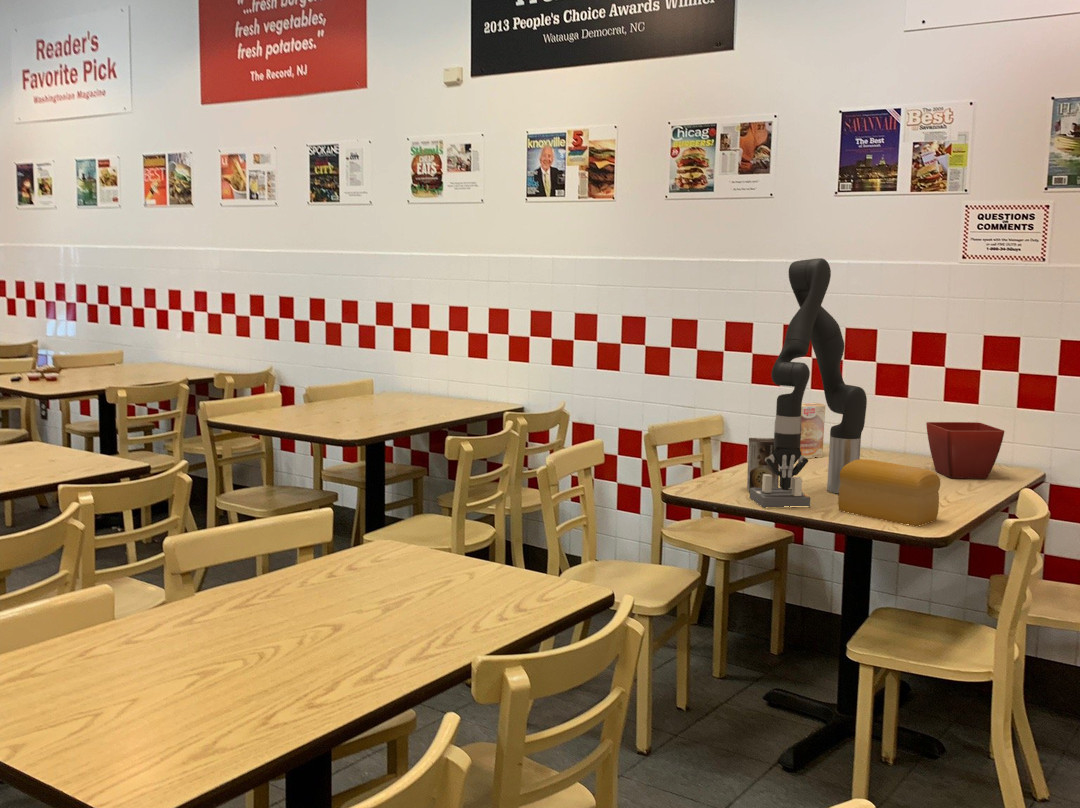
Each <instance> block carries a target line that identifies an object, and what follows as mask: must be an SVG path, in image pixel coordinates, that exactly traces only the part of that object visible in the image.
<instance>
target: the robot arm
mask: <svg viewBox="0 0 1080 808" xmlns="http://www.w3.org/2000/svg"><path fill="white" fill-rule="evenodd" d="M831 274H832V270H831V267H830V263H828V261H827V260H826V259H825V258H819V257H818V258H811V259H800V260H796V261H793V262H791V264H790V265H789V267H788V280H789V283H790V284H789V285H790V287H791V290H792V291H793V294H794V296H795V299H796V301H797V304H798V306H799V309H798V310H797V312H796V313H795V315H793V317H792V319H791V320H790V322H789V323H788V327H787V329H786V335H785V339H784V344H783V347H782V349H781V351H780V353H779V355H778V357H777V358H776V360H775V362H774V365H773V366H772V369H771V374H770V375H771V380H772V382H773V383H774V384H775V385H777V386H781V387H782V386H783V387H794V388H793V391H792V392H791V393H790V392H789V393H784V394H779V395H778V396H777V397H776V408H775V409H776V412H775V420H774V429H773V430H774V431H773V432H774V433H773V434H774V435H773V438H774V449H773V451H772V454H771V455H770V456H769V457H768V458H767V457H765V459H764V460H765V462H766V463H767V464H768V466H769V467H770V468H771V470H772V471H773V473H774V474H776V475H777V476H779V488H781V489H782V490H788V489H789V488H790V487H791V477H792V476H793V477H794V476H798V475H799V473H800V472H801V471H802V469H804V468H805V466H806V465H808V462H809V458H808V459H807V458H805V457H803V456H802V455H801V454H802V453H801V451H800V443H801V430H802V428H801V406H802V403H803V398H804V396H805V391H806V388H807V385H808V382H809V380H810V376H811V375H810V374H811V371H810V368H809V366H808V365H807V364H806V363H805V362H799V361H798V362H795V361H793V360H795V359H799V358H803V357H805V356H807V355H808V352H809V349H810V344H811V346H812V350H813V352H814V356H815V359H816V361H817V365H818V366H817V367H818V369H819V373H820V376H821V381H822V382H821V383H822V387H823V391H824V392H823V393H824V398H825V402H826V404H827V405H826V406H827V408H829V410H830V411H831V412H832V413H834V414H838V415H842V417H841V418H842V419H841V422H840V423H838V424H835V425H833V426H831V428H830V432H829V447H828V449H829V450H828V451H829V452H828V464H827V465H828V466H827V479H826V480H827V482H826V490H827V492H829V491H830V492H829V493H832V494H838V493H839V487H840V484H841V482H840V471H841V470H842V468H843V467H844V466H845V465H847V464H848V463H850V462H852V461H854V460H858V459H861V444H862V433H863V430H864V427H865V422H866V421H865V420H866V413H867V405H868V403H867V402H868V401H867V399H868V398H867V393H866V391H865V390H864V388H863V387H861V386H856V385H852V384H850V385H849V384H846V383H845V381H844V379H843V376H842V372H841V363H842V358H843V356H844V353H845V341H844V337H843V334H842V330H841V327H840V325H839V323H838V322H837V320H836V319H835V318H834V317H833V315H831V314H830V313H829V312H828V311H827V310H826V309H825V308H824V307H823V306H822V304H823V302H824V298H825V296H826V293H827V291H828V288H829V285H830V281H831V276H832V275H831ZM774 459H775V460H776V462H777V463H778V464H779V470H778V469H777V468H776V466H775V465H774V464H773V463H774Z"/></svg>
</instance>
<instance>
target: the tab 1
mask: <svg viewBox="0 0 1080 808" xmlns="http://www.w3.org/2000/svg"><path fill="white" fill-rule="evenodd" d="M771 490H772V476H771V475H770V474H763V480H762V491H763V492H764V493H771Z"/></svg>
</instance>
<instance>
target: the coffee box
mask: <svg viewBox="0 0 1080 808" xmlns="http://www.w3.org/2000/svg"><path fill="white" fill-rule="evenodd" d="M773 449H774V437H773V438H771V437H769V438H768V437H766V438H765V437H749V438H748V450H747V452H748V453H747V454H748V456H747V479H746V480H747V481H746V483H747V484H746V489H747V488H748V489H747V492H748V491H750V488H762V480H763V474H770V475H771V476H772V488H779V484H780V476H777V475H776V474H774V473H773V471H772V470H771V468H770V467H769V466H768V464H767V463H766V462H765V460H764V459H765V457H767V458H768V457H769V456H770V455H771V454H772V451H773ZM773 464H774V465H775V466H776V468H777V469H778V470H779V464H778V463H777V462H776V460H775V459H774V463H773Z"/></svg>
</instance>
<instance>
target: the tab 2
mask: <svg viewBox="0 0 1080 808" xmlns="http://www.w3.org/2000/svg"><path fill="white" fill-rule="evenodd" d="M802 487H803V478H801V477H799V476H797V477H796V476H795V477H794V476H793V477H792V495H794V496H801V492H803V491H802V490H803V488H802Z"/></svg>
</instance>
